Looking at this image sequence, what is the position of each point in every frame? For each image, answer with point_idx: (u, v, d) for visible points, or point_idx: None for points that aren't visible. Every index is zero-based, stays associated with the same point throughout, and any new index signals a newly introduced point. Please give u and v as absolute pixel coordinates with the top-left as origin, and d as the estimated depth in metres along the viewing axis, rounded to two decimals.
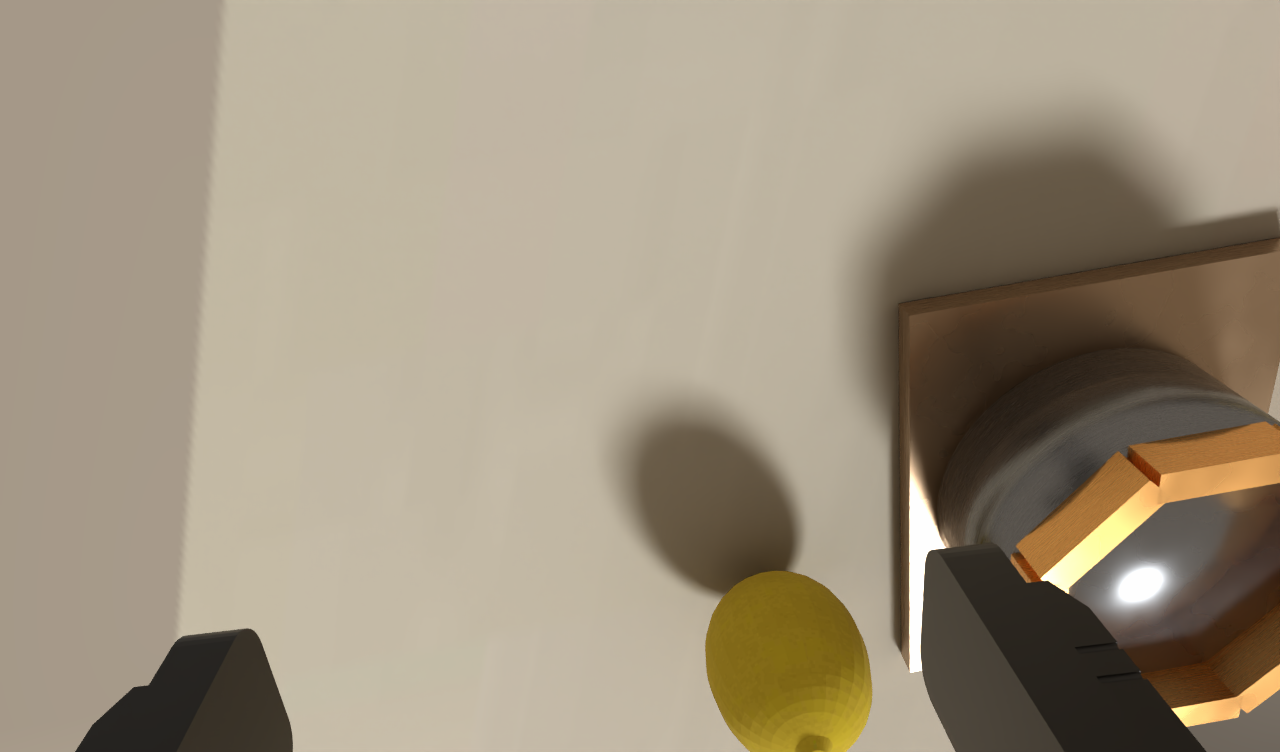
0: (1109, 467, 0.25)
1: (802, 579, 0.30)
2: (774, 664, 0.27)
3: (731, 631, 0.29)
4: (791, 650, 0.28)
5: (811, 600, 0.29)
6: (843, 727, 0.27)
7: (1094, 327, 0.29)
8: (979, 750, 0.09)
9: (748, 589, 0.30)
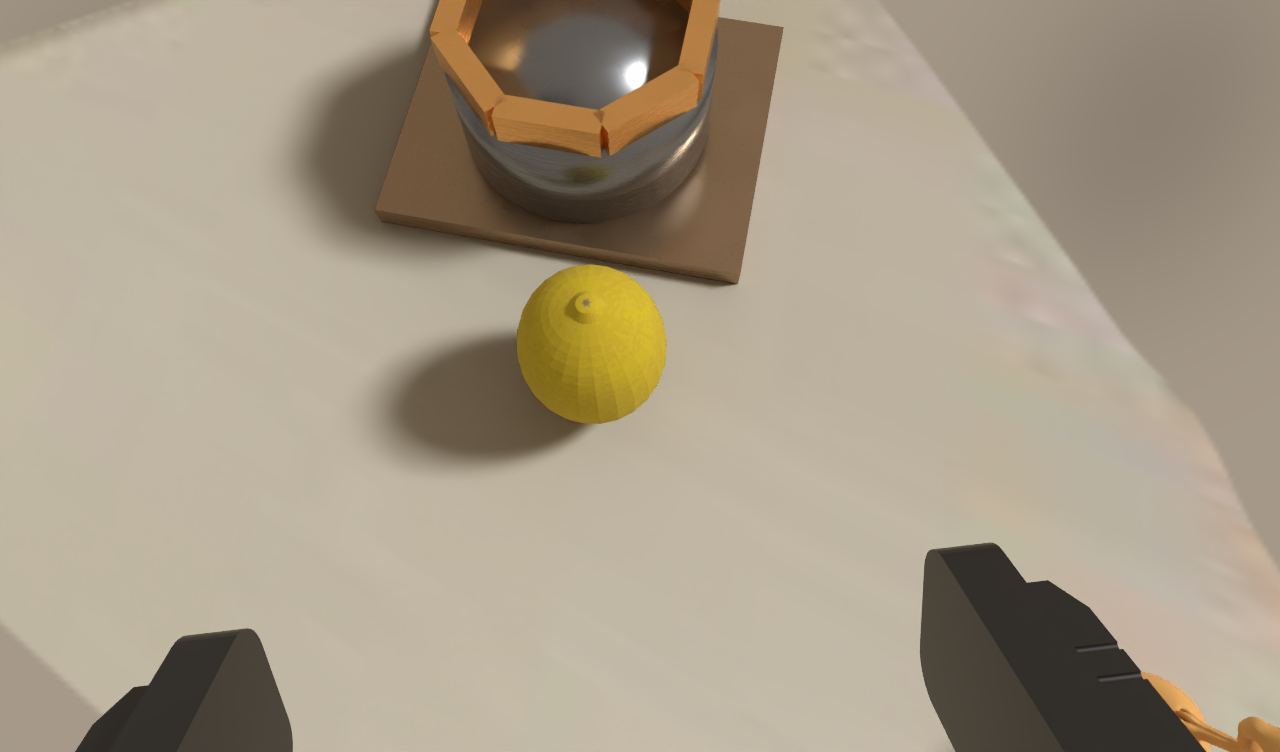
0: (444, 68, 0.34)
1: None
2: (522, 332, 0.30)
3: (525, 378, 0.32)
4: (521, 318, 0.31)
5: None
6: (580, 280, 0.30)
7: (448, 97, 0.40)
8: (979, 750, 0.09)
9: None
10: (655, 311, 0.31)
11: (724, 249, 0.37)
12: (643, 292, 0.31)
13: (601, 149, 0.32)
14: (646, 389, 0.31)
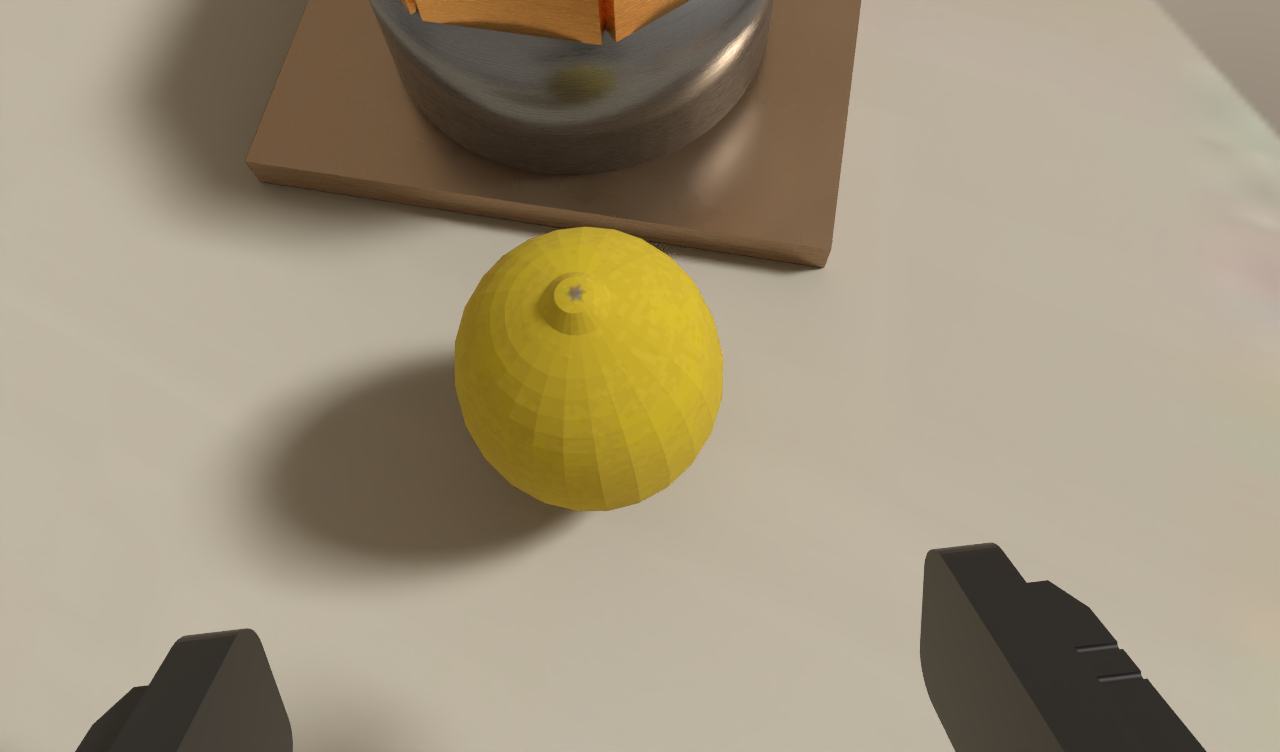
0: None
1: None
2: (458, 353, 0.16)
3: (471, 435, 0.18)
4: (459, 327, 0.17)
5: None
6: (564, 252, 0.16)
7: None
8: (979, 750, 0.09)
9: None
10: (705, 309, 0.17)
11: (802, 212, 0.23)
12: (683, 274, 0.16)
13: (601, 28, 0.18)
14: (691, 452, 0.17)
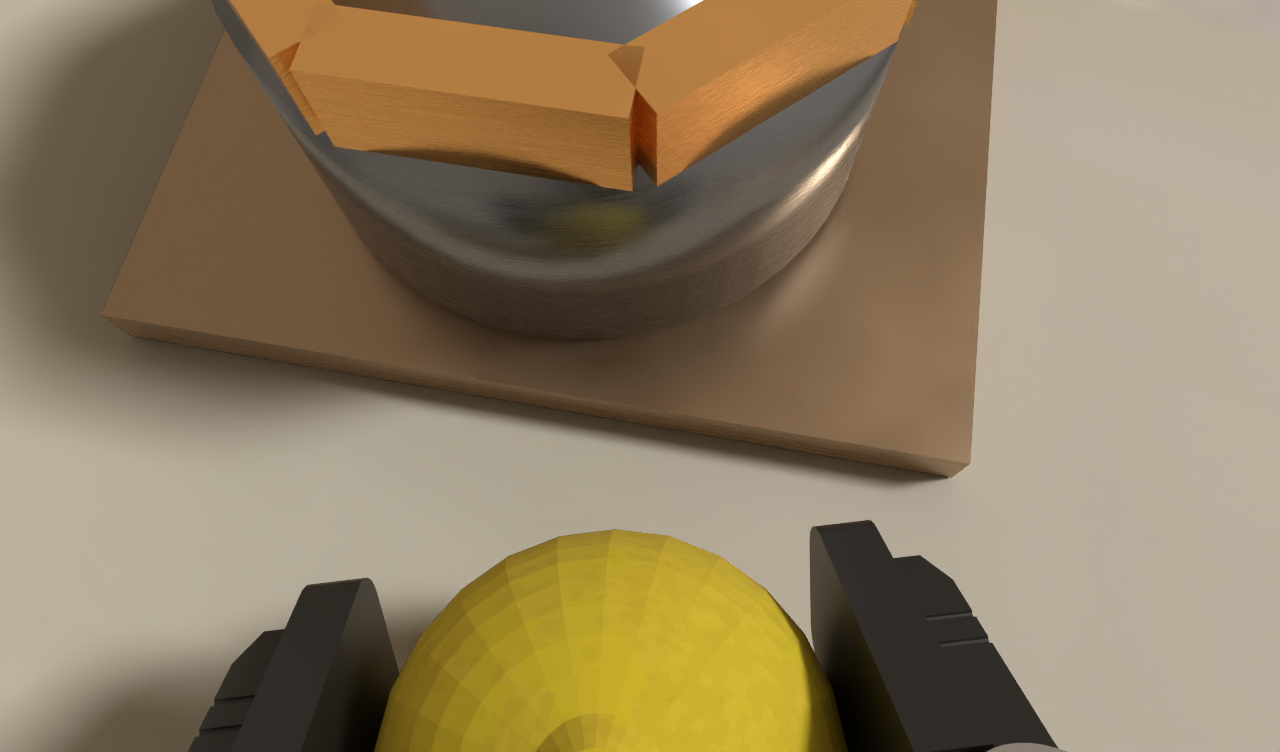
0: None
1: None
2: None
3: None
4: (378, 735, 0.09)
5: None
6: (575, 653, 0.08)
7: None
8: (848, 713, 0.10)
9: None
10: (830, 708, 0.09)
11: (924, 400, 0.15)
12: (791, 652, 0.09)
13: (633, 167, 0.11)
14: None
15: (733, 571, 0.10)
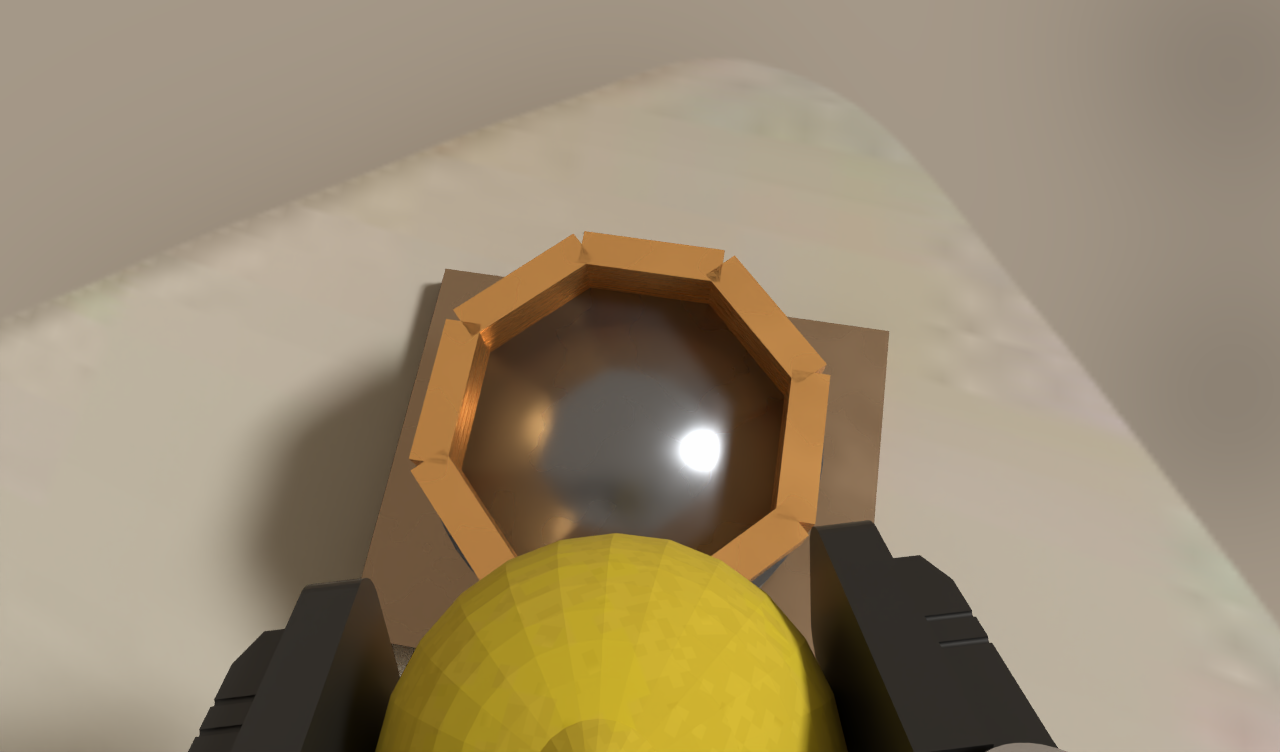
0: None
1: None
2: None
3: None
4: (378, 739, 0.09)
5: None
6: (575, 658, 0.08)
7: None
8: (847, 713, 0.10)
9: None
10: (831, 713, 0.09)
11: None
12: (792, 657, 0.09)
13: None
14: None
15: (734, 575, 0.10)
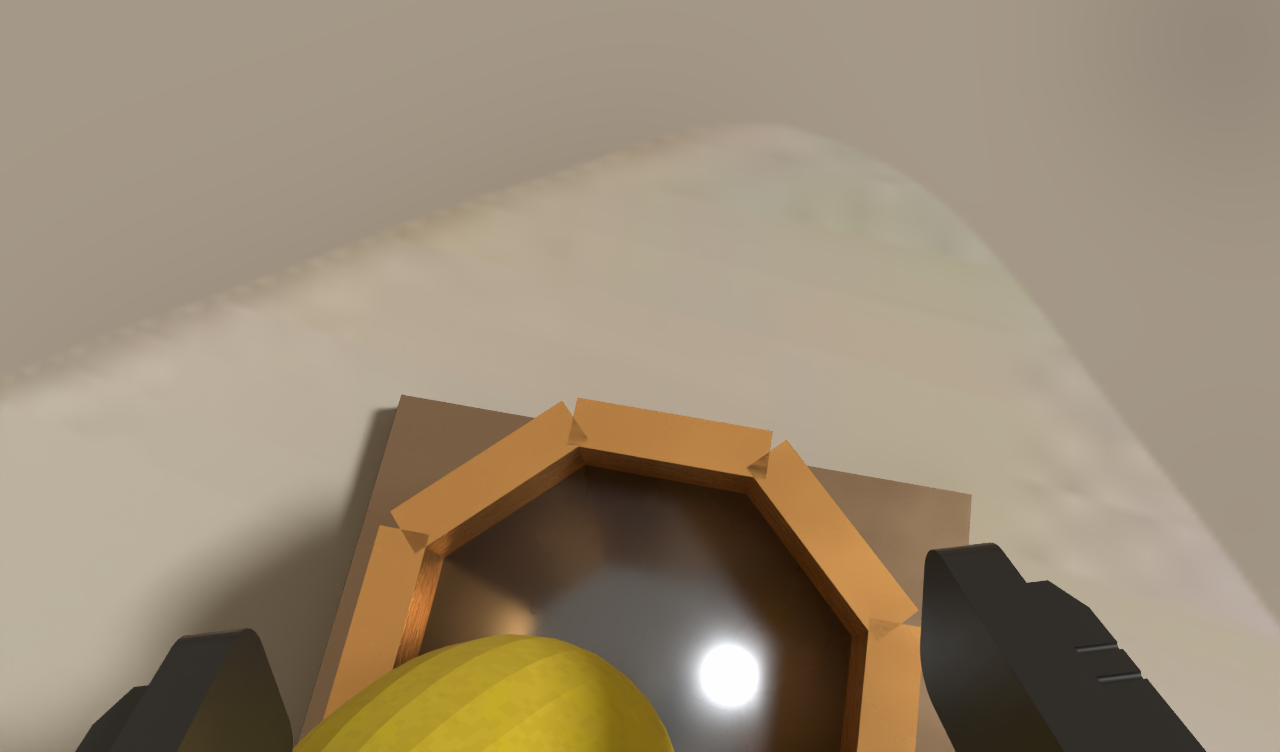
0: None
1: None
2: None
3: None
4: None
5: None
6: None
7: None
8: (979, 750, 0.09)
9: None
10: None
11: None
12: None
13: None
14: None
15: None
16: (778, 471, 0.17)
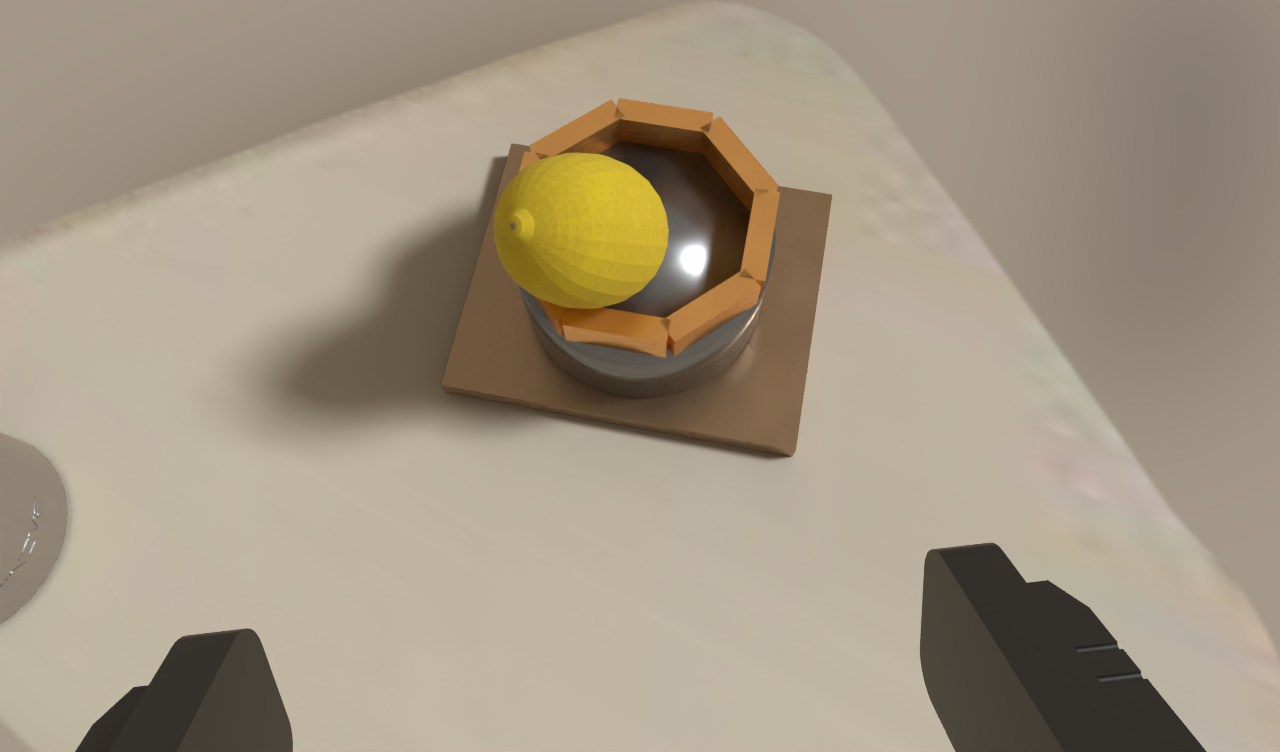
0: None
1: None
2: None
3: None
4: None
5: None
6: (519, 193, 0.29)
7: None
8: (979, 750, 0.09)
9: None
10: (608, 208, 0.28)
11: (779, 425, 0.38)
12: (590, 191, 0.28)
13: (666, 351, 0.34)
14: (624, 283, 0.30)
15: (590, 166, 0.29)
16: (715, 129, 0.36)
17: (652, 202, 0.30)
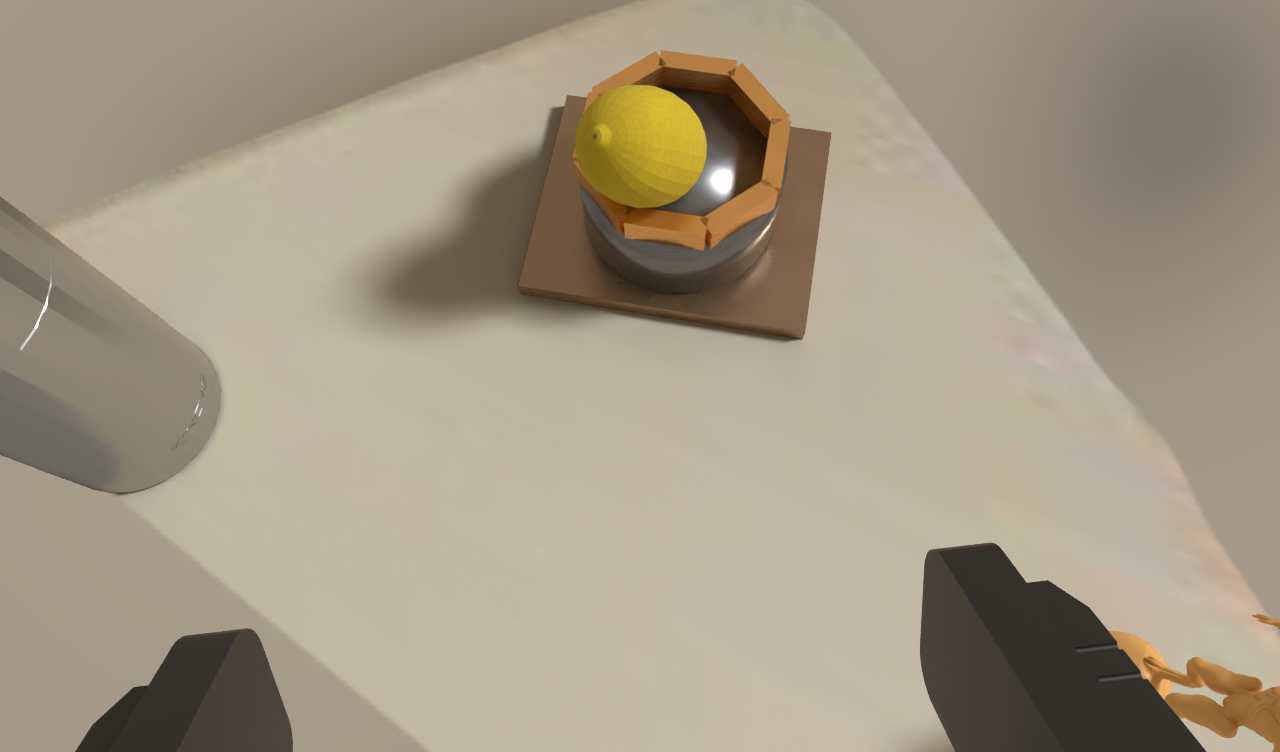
0: (581, 183, 0.45)
1: None
2: None
3: None
4: None
5: None
6: (598, 113, 0.38)
7: (569, 194, 0.50)
8: (979, 750, 0.09)
9: None
10: (665, 123, 0.38)
11: (791, 312, 0.48)
12: (652, 110, 0.38)
13: (704, 244, 0.43)
14: (675, 183, 0.40)
15: (650, 92, 0.38)
16: (739, 73, 0.45)
17: (696, 122, 0.40)
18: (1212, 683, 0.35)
